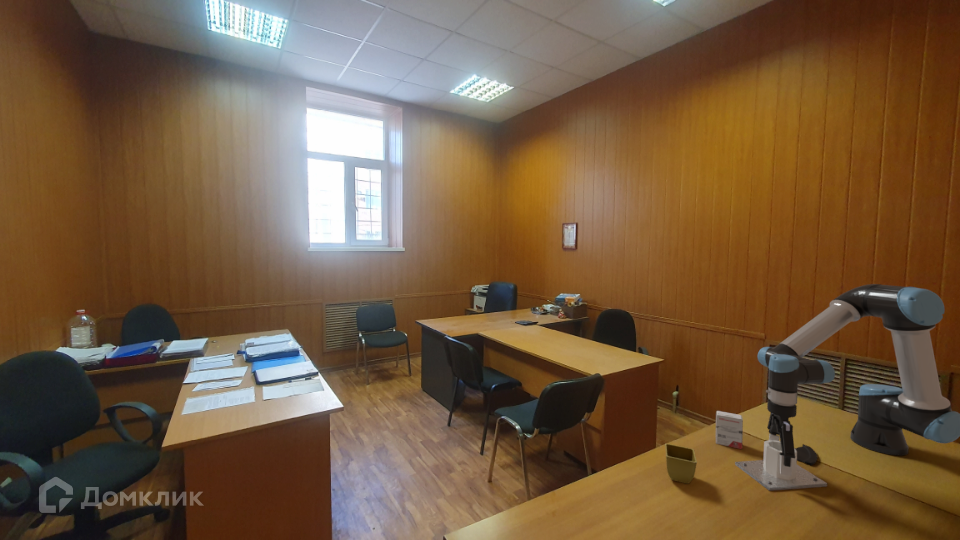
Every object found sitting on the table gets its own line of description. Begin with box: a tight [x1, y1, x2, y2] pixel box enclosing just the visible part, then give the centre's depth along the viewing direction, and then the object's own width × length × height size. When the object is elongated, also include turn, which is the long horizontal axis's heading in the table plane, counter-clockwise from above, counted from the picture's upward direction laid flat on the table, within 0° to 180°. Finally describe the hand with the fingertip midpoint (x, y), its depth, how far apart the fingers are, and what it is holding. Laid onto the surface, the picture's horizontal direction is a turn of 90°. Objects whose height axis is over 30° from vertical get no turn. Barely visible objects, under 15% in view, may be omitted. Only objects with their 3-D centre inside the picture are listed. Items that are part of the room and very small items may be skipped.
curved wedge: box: [794, 443, 818, 466], centre depth 136 cm, size 8×14×2 cm, turn 122°
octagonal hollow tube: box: [762, 439, 798, 480], centre depth 124 cm, size 8×8×9 cm
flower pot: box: [664, 443, 698, 484], centre depth 123 cm, size 9×9×9 cm
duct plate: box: [734, 459, 828, 492], centre depth 124 cm, size 20×14×7 cm
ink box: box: [715, 410, 744, 450], centre depth 144 cm, size 9×5×12 cm, turn 58°
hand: (779, 463), depth 124 cm, fingers open, 13 cm apart
